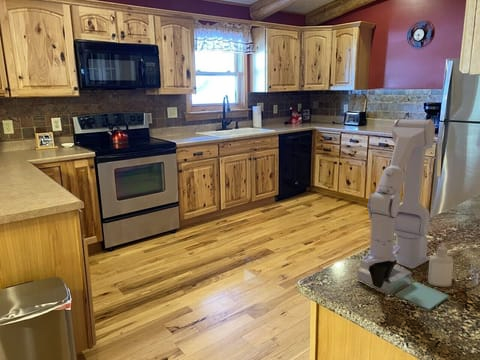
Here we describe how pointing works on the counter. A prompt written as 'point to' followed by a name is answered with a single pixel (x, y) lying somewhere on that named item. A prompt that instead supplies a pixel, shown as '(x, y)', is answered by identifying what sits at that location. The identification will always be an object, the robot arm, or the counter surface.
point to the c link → (387, 280)
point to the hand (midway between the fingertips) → (379, 284)
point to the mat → (422, 295)
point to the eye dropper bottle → (440, 268)
